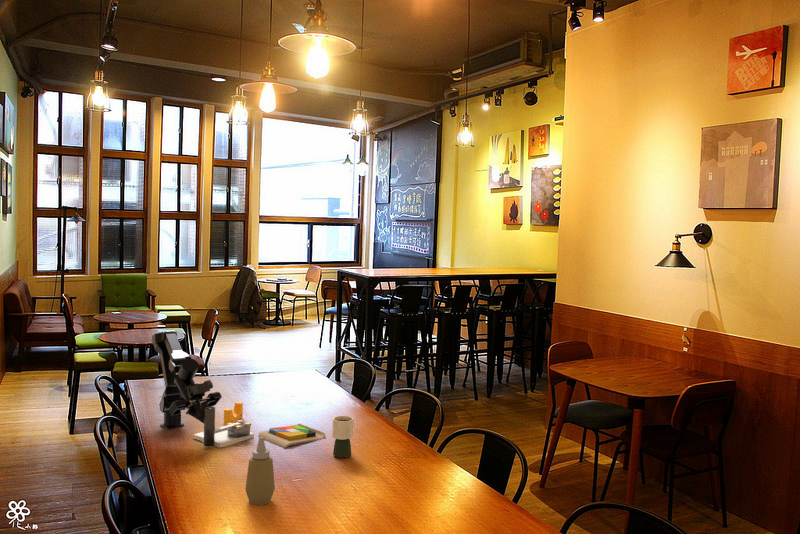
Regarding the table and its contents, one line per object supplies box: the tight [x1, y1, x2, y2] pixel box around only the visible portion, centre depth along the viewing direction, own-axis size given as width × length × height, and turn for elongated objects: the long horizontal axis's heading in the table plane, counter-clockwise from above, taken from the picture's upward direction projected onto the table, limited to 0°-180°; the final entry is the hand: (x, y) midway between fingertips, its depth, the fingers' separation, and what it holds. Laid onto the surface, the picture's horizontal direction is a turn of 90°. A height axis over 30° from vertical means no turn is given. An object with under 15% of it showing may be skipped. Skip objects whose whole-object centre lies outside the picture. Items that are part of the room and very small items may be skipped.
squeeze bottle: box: [245, 437, 276, 506], centre depth 173 cm, size 8×8×18 cm
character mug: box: [331, 415, 355, 459], centre depth 211 cm, size 11×7×13 cm, turn 33°
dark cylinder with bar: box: [203, 406, 252, 448], centre depth 221 cm, size 8×19×13 cm, turn 144°
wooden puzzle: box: [258, 423, 326, 449], centre depth 229 cm, size 18×19×4 cm
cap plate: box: [193, 426, 255, 449], centre depth 225 cm, size 15×15×2 cm
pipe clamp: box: [223, 401, 244, 426], centre depth 245 cm, size 12×4×6 cm, turn 171°
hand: (206, 423), depth 217 cm, fingers closed
